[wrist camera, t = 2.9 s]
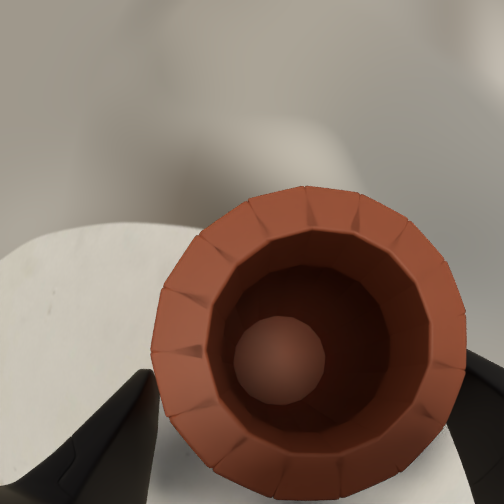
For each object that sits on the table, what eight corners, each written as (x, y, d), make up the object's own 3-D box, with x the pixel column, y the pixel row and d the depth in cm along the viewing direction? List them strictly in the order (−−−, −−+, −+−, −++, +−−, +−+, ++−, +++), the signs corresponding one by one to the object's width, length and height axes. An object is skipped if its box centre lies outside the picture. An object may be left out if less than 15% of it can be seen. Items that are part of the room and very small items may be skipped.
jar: (342, 392, 16) (492, 413, 4) (242, 423, 15) (206, 531, 3) (312, 297, 18) (398, 165, 6) (214, 325, 17) (129, 230, 6)
